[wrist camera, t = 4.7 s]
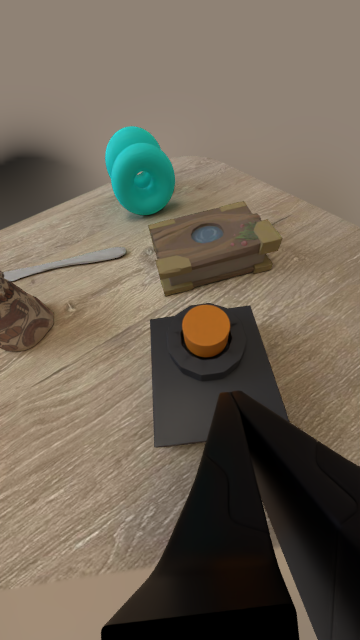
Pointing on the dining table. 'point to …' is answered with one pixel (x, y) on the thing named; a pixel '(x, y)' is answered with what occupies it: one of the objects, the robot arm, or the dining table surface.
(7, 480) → the dining table surface
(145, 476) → the dining table surface
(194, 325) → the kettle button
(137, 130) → the donuts
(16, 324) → the figurine
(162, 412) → the black button base
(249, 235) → the book
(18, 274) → the butter knife
